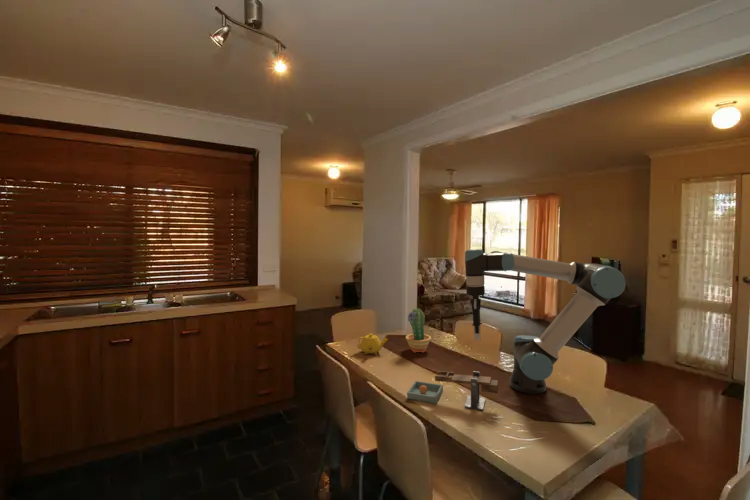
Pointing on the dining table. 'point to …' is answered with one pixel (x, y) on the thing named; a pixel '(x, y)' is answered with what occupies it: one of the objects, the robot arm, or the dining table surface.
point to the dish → (429, 397)
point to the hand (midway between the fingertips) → (477, 339)
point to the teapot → (371, 344)
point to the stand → (475, 395)
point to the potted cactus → (417, 332)
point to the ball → (423, 389)
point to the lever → (469, 380)
